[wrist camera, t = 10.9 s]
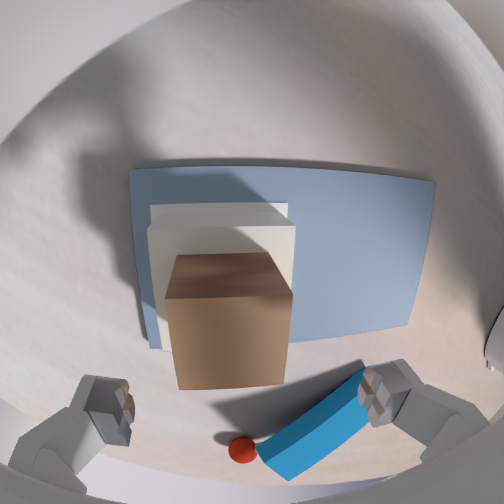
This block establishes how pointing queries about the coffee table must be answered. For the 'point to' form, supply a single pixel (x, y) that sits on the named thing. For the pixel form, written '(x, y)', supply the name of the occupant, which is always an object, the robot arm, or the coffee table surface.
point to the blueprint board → (307, 237)
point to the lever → (309, 433)
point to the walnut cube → (228, 320)
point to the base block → (214, 245)
